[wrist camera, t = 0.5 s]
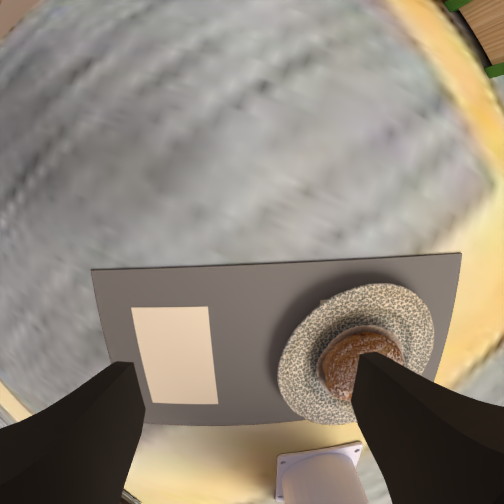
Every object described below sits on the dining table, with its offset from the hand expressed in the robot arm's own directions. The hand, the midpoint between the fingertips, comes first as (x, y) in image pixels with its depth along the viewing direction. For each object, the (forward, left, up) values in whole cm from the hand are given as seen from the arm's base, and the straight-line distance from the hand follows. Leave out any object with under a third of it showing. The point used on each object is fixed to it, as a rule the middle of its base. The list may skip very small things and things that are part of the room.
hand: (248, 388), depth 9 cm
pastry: (-6, -8, -10) cm, 14 cm away
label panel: (-5, -3, -10) cm, 12 cm away
